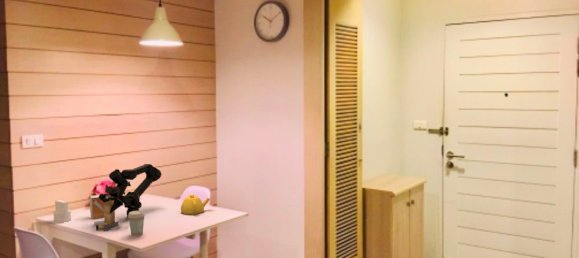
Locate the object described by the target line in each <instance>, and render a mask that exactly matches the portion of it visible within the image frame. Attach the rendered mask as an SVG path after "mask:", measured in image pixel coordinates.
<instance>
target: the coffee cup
mask: <svg viewBox="0 0 579 258" xmlns="http://www.w3.org/2000/svg"><path fill="white" fill-rule="evenodd" d="M145 216H146V214H145V213H144V211H143V210H139V211H132V212H129V215H128V218H129V219H128V218H127V219H128V223H129V229H130V235H131V236H132V237H141V236H142V235H143V234H144V225H145V224H144V222H145Z"/></svg>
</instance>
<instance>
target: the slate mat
mask: <svg viewBox="0 0 579 258" xmlns="http://www.w3.org/2000/svg"><path fill="white" fill-rule="evenodd" d="M101 223H104V220H98V221H97V220H96V221H93V226H94V227H96V225H98V224H101Z"/></svg>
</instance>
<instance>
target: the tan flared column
mask: <svg viewBox="0 0 579 258" xmlns="http://www.w3.org/2000/svg"><path fill="white" fill-rule="evenodd" d="M113 204H114V201H113V200H112V201H108V202H105V203H104V218H103V219H104V220H103V221H104V223H107V224H112V223H114V222H116V212H115V211H116V210H115V211H113V212H112V213H110V210H111V208H112V206H113Z"/></svg>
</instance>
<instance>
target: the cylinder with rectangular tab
mask: <svg viewBox="0 0 579 258" xmlns="http://www.w3.org/2000/svg"><path fill="white" fill-rule="evenodd" d="M54 207H55V210H54V211H53V223H54V222H56V223H55V224H65V223H64V222H67V223H70V222H72V215H71V214H72V211H71V209H69V202H68V201H67V200H63V199H57V200H54ZM69 221H70V222H69Z"/></svg>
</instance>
